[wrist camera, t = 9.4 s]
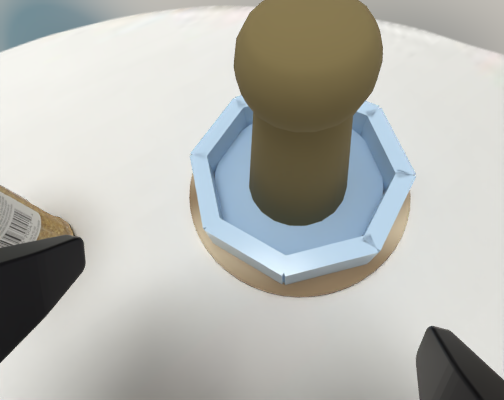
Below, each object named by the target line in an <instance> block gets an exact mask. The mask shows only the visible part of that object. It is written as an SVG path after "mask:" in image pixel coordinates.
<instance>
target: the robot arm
mask: <svg viewBox="0 0 504 400" xmlns="http://www.w3.org/2000/svg"><path fill="white" fill-rule="evenodd" d="M84 268H85V251H84V242H83V240H82V239H81V238H80V237H76V236H72V235H61V236H56V237H51V238H46V239H41V240H36V241H31V242H26V243H21V244H16V245H11V246H6V247H1V248H0V363H1V362H2V361H3V360H4V359H5V358H6V357H7V356H8V355H9V354H10V353H11V352H12V351H13V350H14V349H15V347H16V346H17V345H18V344H19V343H20V342H21V341H22V340H23V339H24V338H25V337H26V336H27V335H28V334H29V333H30V332H31V331H32V330H33V329H34V328H35V327H36V326H37V325H38V324H39V323H40V322H41V321H42V320H43V319H44V318H45V317H46V315H47V314H48V313H49V312H50V311H51V310H52V308H53V307H54V306H55V305H56V304H57V302H58V301H59V300H60V299H61V297H62V296H63V295H64V294H65V293H66V291H67V290H68V289H69V288H70V287H71V285H72V284H73V283H74V282H75V280H76V279H77V278H78V277H79V276H80V274H81V273H82V272H83V270H84ZM416 368H417V378H418V388H419V398H420V400H504V380H503V379H502V378H501V377H500V376H499V375H498V374H497V373H496V372H495V371H493V370H492V369H491V368H490V367H489V366H488V365H487V364H486V363H485V362H484V361H483V360H482V359H480V358H479V357H478V356H477V355H476V354H475V353H474V352H473V351H472V350H471V349H470V348H469V347H467V346H466V345H465V344H464V343H463V342H462V341H461V340H460V339H459V338H458V337H457V336H456V335H454V334H453V333H452V332H451V331H449V330H447V329H443V328H439V327H435V326H430V327H428V328H427V330H426V332H425V334H424V337H423V339H422V342H421V344H420V347H419V349H418V352H417V355H416Z"/></svg>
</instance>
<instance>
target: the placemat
mask: <svg viewBox="0 0 504 400" xmlns="http://www.w3.org/2000/svg"><path fill="white" fill-rule="evenodd" d="M189 198H190V209H191V214H192V218H193V223H194V225H195V228H196V230H197V233H198V235H199V237H200V239H201V241H202V242H203V244H204V246H205V248H206V249H207V250H208V251H209V253H210V254H211V255H212V257H213V258H214V259H215V260H216V261H217V262H218V263H219V264H220V265H221V266H222V267H223V268H224V269H225V270H226V271H227V272H229V273H230V274H232V275H233V276H234V277H236V278H237V279H239V280H240V281H242V282H244V283H246V284H248V285H250V286H252V287H254V288H257V289H260V290H262V291H265V292H269V293H273V294H277V295H282V296H293V297H310V296H319V295H324V294H330V293H333V292H336V291H339V290H342V289H345V288H348V287H350V286H352V285H354V284H356V283H358V282H360V281H361V280H363V279H364V278H366V277H367V276H368V275H370V274H371V273H373V272H374V271H375V270H376V269H377V268H378V267H379V266H380V265H382V264H383V263H384V262H385V261H386V260H387V258H388V257H389V256H390V255H391V253H392V252H393V251H394V249H395V248H396V246H397V244H398V243H399V241H400V239H401V237H402V235H403V232H404V230H405V227H406V224H407V221H408V216H409V211H410V190H409V192H408V194H407V196H406V198H405V201H404V203H403V205H402V207H401V209H400V211H399V213H398V215H397V217H396V219H395V221H394V224H393V226H392V228H391V230H390V232H389V234H388V236H387V238H386V240H385V242H384V244H383V247H382V249H381V251H380V252H379V253H378V254H377V255H376V256H375V257H374V258H373V259H372V260H371V261H370V262H368V263H367V264H365V265H362V266H358V267H354V268H350V269H346V270H342V271H338V272H334V273H330V274H326V275H323V276H319V277H315V278H311V279H307V280H303V281H299V282H295V283H291V284H287V285H285V283H283V284H280V283H279V282H277V281H275V280H274V279H272V278H270V277H269V276H267V275H265V274H264V273H262V272H260V271H259V270H257V269H255V268H254V267H252V266H250V265H249V264H247V263H245V262H244V261H242V260H240V259H239V258H237V257H235V256H233V255H232V254H230V253H228V252H227V251H225V250H223V249H222V248H220V247H218V246H217V245H215V244H214V243H213V242H212V241H211V239H210V238H209V236H208V235H207V233H206V232H205V230H204V229H203V226H202V220H201V215H200V209H199V204H198V198H197V192H196V187H195V181H194V176H193V173H192V178H191V184H190V197H189Z"/></svg>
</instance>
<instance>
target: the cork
mask: <svg viewBox="0 0 504 400" xmlns="http://www.w3.org/2000/svg"><path fill="white" fill-rule="evenodd" d="M382 58H383V46H382V40H381V34H380V30H379V27H378V25H377V22H376V20H375V18H374V17H373V15H372V14H371V12H370V11H369V9H368V8H367V6H365V5H364V4H363V3H361V2H360V1H359V0H264V1H262V2H261V3H260V4H259V5H258V6H257V7H256V8H255V9H254V10H252V11H251V12H250V14H249V15H248V17H247V19H246V21H245V23H244V25H243V27H242V29H241V30H240V32H239V34H238V36H237V38H236V47H235V57H234V71H235V76H236V80H237V83H238V86H239V89H240V92H241V95H242V97H243V98H244V100H245V102H246V104H247V105H248V106H249V107H250V109H251V110H252V111H253V124H252V142H251V159H250V177H249V189H250V192H251V196H252V199H253V201H254V203H255V204H256V205H257V207H258V208H259V209H260V211H261V212H262V213H264V214H265V215H266V216H268V217H269V218H271V219H272V220H274V221H276V222H279V223H282V224H286V225H289V226H307V225H311V224H314V223H317V222H321V221H323V220H324V219H326V218H327V217H328V216H330V215H331V214H333V213H334V212H335V211H336V210H337V208H338V207H339V205H340V204H341V203H342V201H343V199H344V196H345V192H346V189H347V180H348V169H349V157H350V146H351V135H352V123H353V115H354V114H355V113H356V112H357V110H358V109H359V108H360V107H361V105H362V104H363V103H364V102H365V100H366V99H367V98H368V97H369V95H370V94H371V93H372V91H373V89H374V86H375V84H376V81H377V78H378V74H379V71H380V68H381V64H382Z"/></svg>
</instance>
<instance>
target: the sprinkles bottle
mask: <svg viewBox="0 0 504 400" xmlns="http://www.w3.org/2000/svg"><path fill="white" fill-rule="evenodd" d="M61 235H72V236H73V232H72V229H71V228H70V225H69V224H68V223H67V222H66V221H64V220H63V219H61V218H60V217H56V216H52V215H50V214H49V213H47V212H45V211H43V210H41V209H39V208H38V207H36V206H34V205H32V204H31V203H30V202H29V201H28V200H26V199H24V198H23V197H21V196H19V195H18V194H16V193H14V192H12V191H10V190H9V189H7V188H5V187H3V186H2V185H0V248H1V247H6V246H11V245H16V244H21V243H26V242H31V241H36V240H41V239H46V238H51V237H56V236H61Z"/></svg>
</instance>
